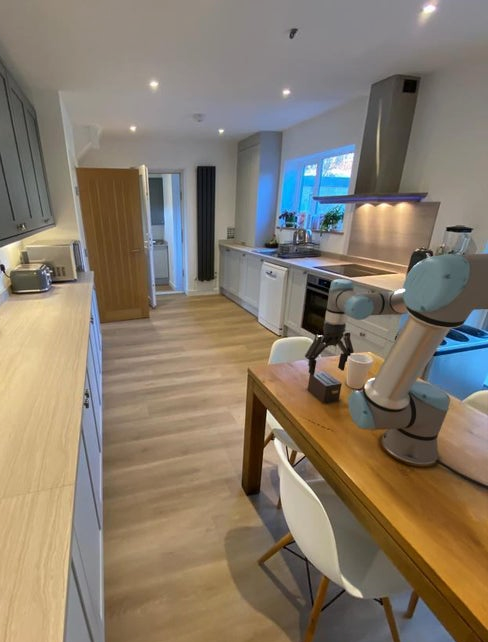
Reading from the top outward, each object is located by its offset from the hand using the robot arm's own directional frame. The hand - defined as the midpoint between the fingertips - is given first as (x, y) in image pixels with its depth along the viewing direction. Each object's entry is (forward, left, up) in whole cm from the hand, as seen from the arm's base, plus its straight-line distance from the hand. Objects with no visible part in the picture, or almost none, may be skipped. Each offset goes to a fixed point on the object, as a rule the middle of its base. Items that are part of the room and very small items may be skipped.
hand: (326, 371), depth 130 cm
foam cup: (+3, -18, -11) cm, 21 cm away
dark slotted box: (-1, 0, -11) cm, 11 cm away
